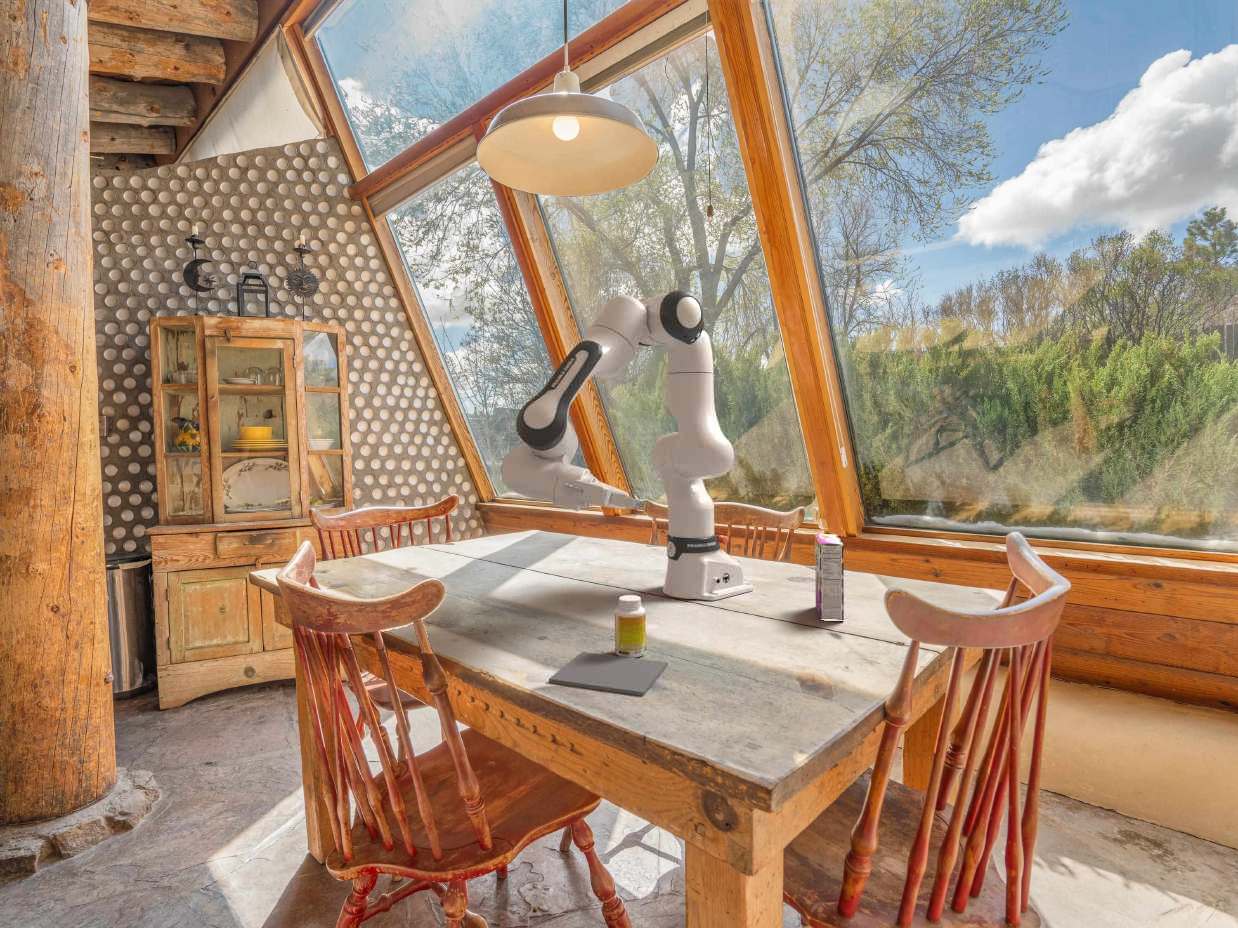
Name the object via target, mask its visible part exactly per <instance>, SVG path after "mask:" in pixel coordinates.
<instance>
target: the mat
mask: <svg viewBox="0 0 1238 928" xmlns="http://www.w3.org/2000/svg"><path fill="white" fill-rule="evenodd" d="M668 664H669V663H668V661H660V660H652V659H645V658H644V659H643V658H638V657H636V658H629V657H621V656H618V655H610V654H604V653H603V654H602V653H595V652H587V651H586V652H585V651H581V652H580V653H579V654H578V655H576V656H575V657H574V658H573V659H572V660H570V661H569V662H568V663H566V664H565V665H564V666H563V667H561V668H560V669H559V670H558V671H557V672H555V673H554V674H553V675H552V676H551V677H549V678H548V682H549V683H551V684H557V685H564V686H569V687H570V686H571V687H579V688H585V689H591V690H592V689H593V690H598V691H605V692H612V693H620V694H626V695H627V694H628V695H634V696H639V697H644V696H645V695H646V693H647V692H648V691H649V689H650V688H651V687H652V686H653V684H654V683H655V682H656V681H657V680H658V678H659V677H660V676H661V675H662V673H664V671H665V670H666V668H667V667H668V666H669V665H668ZM549 683H548V684H549Z"/></svg>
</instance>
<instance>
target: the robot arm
mask: <svg viewBox="0 0 1238 928" xmlns="http://www.w3.org/2000/svg"><path fill="white" fill-rule="evenodd" d="M704 318H705V317H704V310H703V308H702V305H701V302H700V300H699V299H698V297H697V296H696V294H694V293H692V292H690V291H687V290H673V291H670V292H665V293H659V294H656V295H653V296H652V297H650V298H647V299H645V300H643V301H640V300H639V299H637V298H635V297H633V296H631V295H628V294H621V295H617V296H615V297H613V298H612V299H611V300H610V301H609V302H608V303H607V304H606V305H605V307H603V309H602V310H601V311H600V313H599V314H598V316H597V317H596V318H595V320H594V321H593V322H592V325H590V328H589V329H588V330H587V333H585V335H584V337H583V338H582V340H581V341H580V342H579V343H578V344H576V345H575V346H574V347H573V348H572V349H571V350H570V352H569V353H568V354H567V355H566V357H565V358H564V359H563V360H562V363H561V364H560V365H559V367H558V368H557V369H556V370H555V371H554V373H553V374H552V376H551V377H550V379H549V380H548V382H546V384H545V386H543V388H542V389H541V390H540V391H539V392H538V393H537V394H536V395H535V396H533V397H532V398H531V399H530V400H528V401H527V402H525V404H524V405H523V406H522V407H520V410H519V412H518V414H517V416H516V420H515V429H516V432H517V435H518V436H519V437H520V439H521V440H522V441H523V442H522V444H521V445H519V446H518V447H517V448H515V449H513V450H512V451H510V452H507V453H506V455H504V458H503V460H502V464H501V479H502V482H503V484H504V485H505V488H507V489H508V490H509V491H511V492H513V493H515V494H518V495H519V496H520V495H521V496H523V497H527V498H530V499H532V500H533V499H534V500H537V501H547V502H549V503H550V504H553V505H554V506H558V507H561V508H565V509H568V510H572V511H574V512H579V511H580V510H581V509H584V508H588V507H589V508H590V507H593V506H595V507H596V506H597V507H598V506H599V507H605V508H611V509H617V510H626V508H628V509H631V510H633V509H636V510H640V511H644V510H645V509H646V508H645V507H646V505H647V504H646V502H645V501H642V500H639V499H636V498H633V497H630V493H628V492H627V491H624V490H623V489H619V488H617V487H616V486H612V485H610V484H608V483H604V482H602V481H600V480H599V479H598V478H597V477H595V476H594V475H593V474H592V473H591V472H592V471H591V470H590V469H588V468H585V467H581V466H578V465H573V464H572V462H573V460H574V458H575V456H576V454H577V453H578V449H579V438H578V435H577V433H576V431H575V429H574V427H573V425H572V424H571V423H570V419H569V410H570V407H571V405H572V404H573V402H574V400H575V399H576V398H577V396H578V395H579V394H580V392H581V390H582V389H583V388H584V386H585V385H586V383H587V382H588V381H589V380H590V378H593V377H597V378H599V379H612V378H614V377H617V376H618V375H620V373H621V372H622V371H623V370H624V369H625V367H626V366H627V365H628V364H629V361H630V360H631V358H632V356H633V355H634V353H635V351H636V349H637V347H638V346H643V347H651V346H657V345H659V346H660V345H663V347H664V349H665V351H666V355H667V369H666V370H667V371H666V373H667V376H666V377H667V378H666V381H667V382H666V383H667V385H666V386H667V393H666V394H667V408H668V410H669V411H670V413H671V414H672V415H673V416H674V419H675V421H676V425H677V428H678V431H675V432H674V431H673V432H670V433H667V434H664V435H662V436H660V437H658V438H657V439H656V440H655V442H653V445H652V447H651V450H650V451H651V452H650V453H651V455H650V456H651V460H652V463H653V464H654V465H653V466H655V468H656V469H657V471H658V472H659V475H660V477H661V480H662V481H661V482H662V483H663V488H664V491H665V495H666V502H667V516H668V518H667V519H668V520H667V521H668V533H667V534H666V555H667V566H666V573H665V579H664V584H663V588H662V593H664V594H665V595H667V596H669V597H674V598H680V599H685V600H687V599H690V600H692V599H693V600H695V599H696V600H705V601H717V600H721V599H725V598H729V597H732V596H736V595H740V594H743V593H748V592H751V591H752V592H753V591H754V585H753V584H752V583H750V582H749V581H746V580H745V578H744V571H743V568H742V565H741V563H739V561H737V560H736V559H734V558H733V557H732V556H730V555H729V554H728V553H726V552H725V551H724V550H723V549H721V545H720V544H723V545H728V543H729V539H730V538H729V537H728V536H726V535H722V534H721V535H717V534H716V533H715V504H714V501H713V499H712V498H711V496H710V495H709V494H708V492H707V489H706V488H705V484H704V481H703V480H711V479H714V478H715V479H716V478H718V477H719V478H720V477H722V476H724V475H727V473H728V472H729V471H730V470H731V469H732V467H733V464H734V460H735V452H734V451H735V450H734V447H733V445H732V443H731V442H730V441H729V439H727V438H726V436H725V435H724V433H723V431H722V428H721V426H720V423H719V420H718V417H717V413H716V406H715V393H714V390H715V389H714V388H715V387H714V386H715V385H714V383H715V382H714V356H713V351H712V345H711V344H712V343H711V340H710V336H709V333H707V332H706V330H704V327H705V322H704Z"/></svg>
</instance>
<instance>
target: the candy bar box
mask: <svg viewBox="0 0 1238 928" xmlns="http://www.w3.org/2000/svg"><path fill="white" fill-rule="evenodd" d="M844 546H845V545H844V543H843V542H842V540H841V538H840V537H839V536H838V535H837V534H829V533H823V534H822V533H817V534H814V562H815V563H814V564H815V565H814V567H815V569H814V570H815V572H814V573H815V577H814V579H815V584H814V585H815V608H816V611H817V610H818V611H817V613H819V614H818V617H819V616H820V617H819V620H820V619H837V620H844V621H845V617H844V615H845V612H844V610H845V609H844V608H845V604H844V603H845V601H844V600H845V593H844V590H845V588H844V585H845V584H844V583H845V582H844V581H845V579H844V577H845V575H844V574H845V571H844V568H845V566H844V565H845V564H844V563H845V562H844V551H845V550H844Z"/></svg>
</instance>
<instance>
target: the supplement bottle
mask: <svg viewBox="0 0 1238 928" xmlns="http://www.w3.org/2000/svg"><path fill="white" fill-rule="evenodd" d="M613 613H614V652H615V654H616V656H621V657H629V658H639V657H642V656H644V655H645V654H646V651H647V646H646V645H647V638H646V637H647V634H646V633H647V632H646V610H645V607H643V606H642V598H641V597H640V596H638V595H634V594H627V595H626V594H625V595H622V596H619V598H618V607H616V608H615V609H614V612H613Z"/></svg>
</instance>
